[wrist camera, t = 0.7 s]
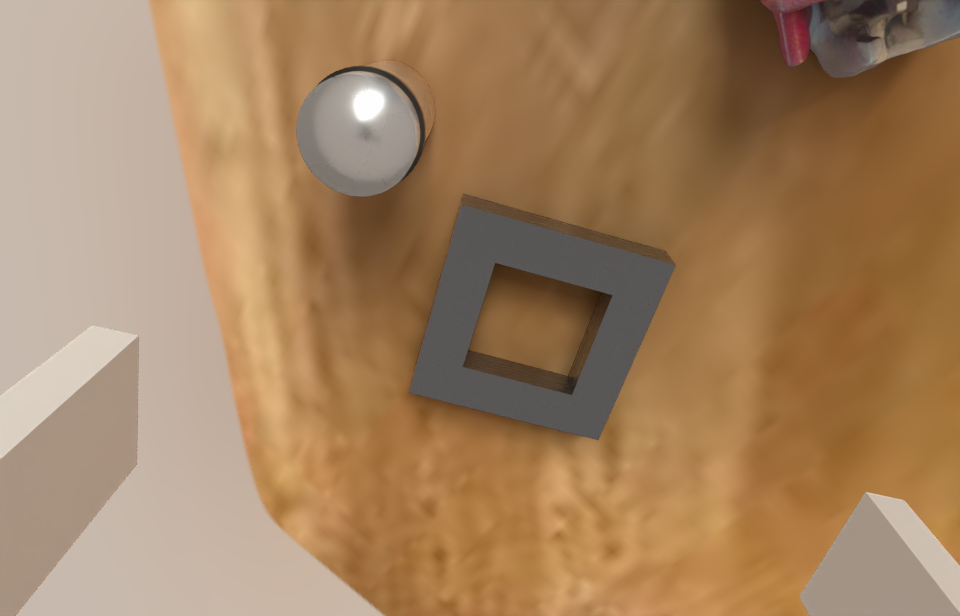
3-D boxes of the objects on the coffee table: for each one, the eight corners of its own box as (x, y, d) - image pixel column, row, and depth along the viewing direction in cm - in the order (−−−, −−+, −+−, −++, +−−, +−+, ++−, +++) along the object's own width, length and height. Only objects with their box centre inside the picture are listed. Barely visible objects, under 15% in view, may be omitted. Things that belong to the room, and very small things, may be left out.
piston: (350, 43, 29) (303, 52, 22) (448, 73, 30) (434, 91, 23) (332, 143, 31) (283, 181, 24) (425, 169, 32) (404, 214, 24)
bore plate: (463, 194, 32) (461, 204, 30) (665, 251, 33) (675, 265, 31) (413, 373, 37) (408, 392, 35) (593, 419, 38) (598, 440, 36)
